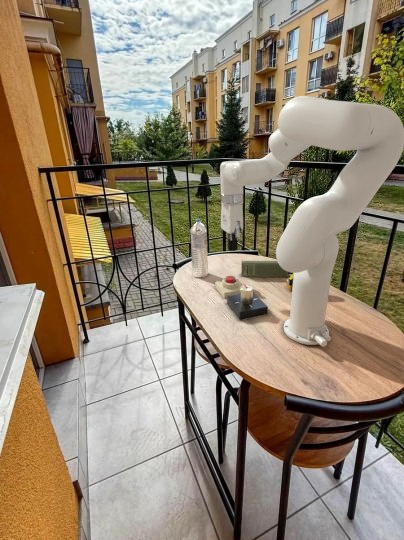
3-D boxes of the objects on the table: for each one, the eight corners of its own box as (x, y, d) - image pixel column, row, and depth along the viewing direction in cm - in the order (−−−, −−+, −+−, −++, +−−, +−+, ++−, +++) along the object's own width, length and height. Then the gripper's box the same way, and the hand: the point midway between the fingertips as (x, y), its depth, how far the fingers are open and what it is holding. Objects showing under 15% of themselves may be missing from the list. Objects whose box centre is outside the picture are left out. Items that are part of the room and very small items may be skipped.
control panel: (267, 314, 92) (267, 306, 91) (239, 320, 90) (239, 311, 89) (252, 298, 102) (252, 291, 101) (226, 303, 100) (226, 295, 98)
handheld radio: (241, 273, 123) (300, 274, 120) (241, 277, 120) (301, 277, 117) (241, 259, 120) (301, 259, 117) (241, 263, 117) (303, 263, 114)
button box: (246, 294, 106) (246, 284, 104) (224, 298, 103) (224, 288, 102) (236, 282, 115) (236, 274, 113) (215, 286, 112) (215, 277, 111)
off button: (236, 283, 107) (236, 278, 106) (227, 284, 106) (227, 280, 105) (233, 279, 110) (233, 275, 109) (224, 280, 109) (224, 276, 108)
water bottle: (198, 270, 128) (196, 216, 119) (211, 273, 124) (209, 218, 115) (189, 275, 123) (186, 220, 114) (202, 279, 119) (199, 222, 110)
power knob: (254, 302, 94) (255, 288, 92) (243, 305, 93) (243, 290, 91) (249, 297, 97) (249, 283, 95) (238, 299, 96) (238, 285, 94)
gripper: (214, 197, 101) (216, 245, 108) (229, 203, 88) (230, 257, 94) (233, 195, 103) (234, 242, 110) (251, 201, 90) (251, 254, 96)
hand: (232, 249), depth 102 cm, fingers closed
